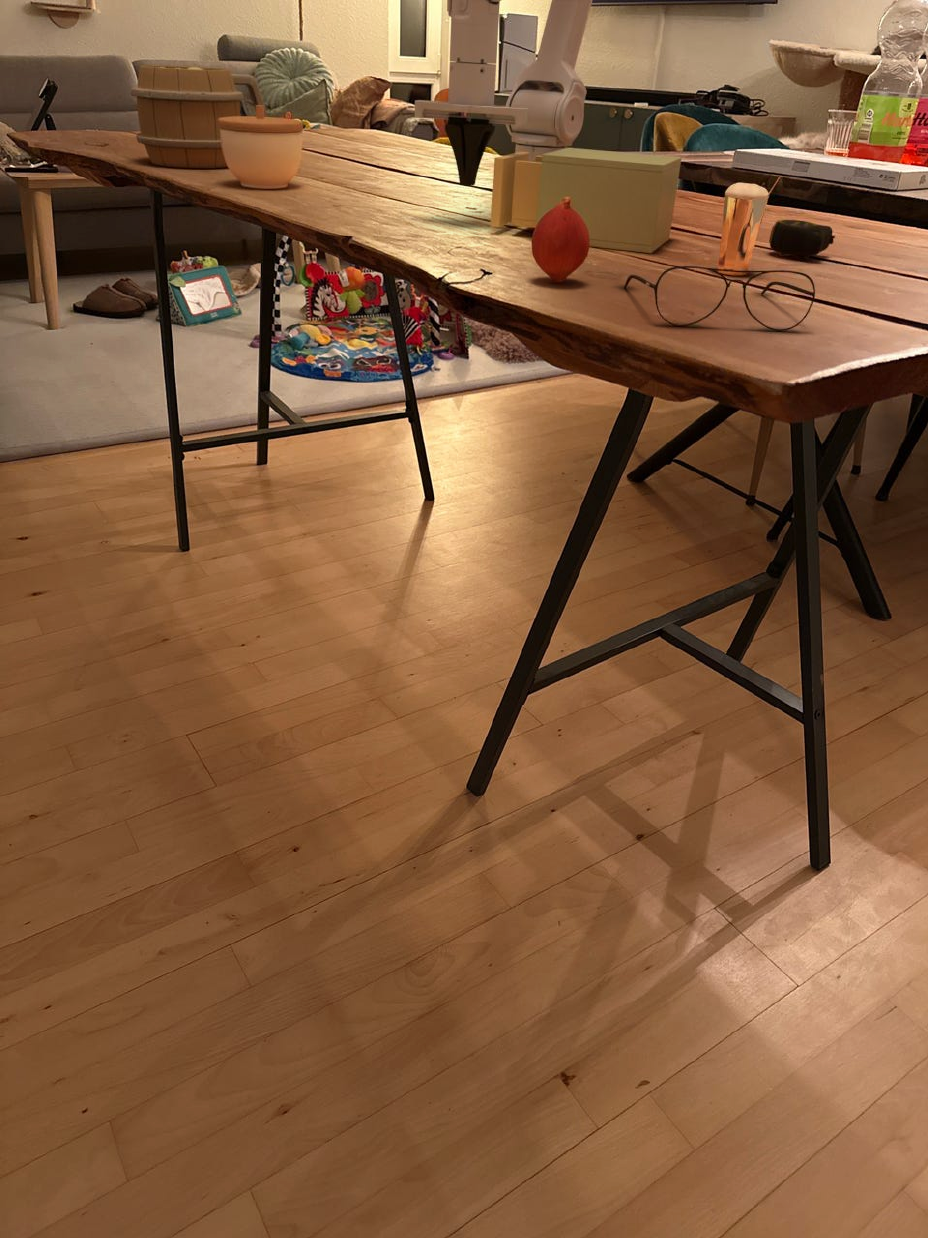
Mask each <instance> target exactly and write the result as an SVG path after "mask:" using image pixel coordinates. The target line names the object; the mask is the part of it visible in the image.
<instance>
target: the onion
mask: <svg viewBox="0 0 928 1238" xmlns="http://www.w3.org/2000/svg"><path fill="white" fill-rule="evenodd" d="M590 248H591V246H590V237H589V232H588V229H587V227H586V224H585V223H584V221H583V219H582V218H581V217H580V215H579V214H578V213H577V212H575V211H574V210H573V209H572V207H571V199H570V197H566V198H563V200H562V201H561V202H560V203H559V204H558V205H557V206H556V207H555V208H553V209H551V210H550V211H549V212H547V213H546V214H545V215H544V216H543V217H542V218H541V219H540V221H539V222H538V224H537V225H536V227H535V228H534V230H533V232H532V238H531V253H532V257H533V259H534V261H535V263H536V264H537V266H538V267H539V268H540V270H541V271H543V272H544V273H545V274H546V275H547V276H548V277H549V278H550V279H551V280H552V281H553V282H555V283H563V282H564V281H565V280H566V279H567V278H568V277H569V276H570V275H571V274H573V273H574V272H575V271H577V270H578V269H579V268H580V267H581V265H583V264H584V262H585V260H586V259H587V258H588V254H589V251H590Z"/></svg>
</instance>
